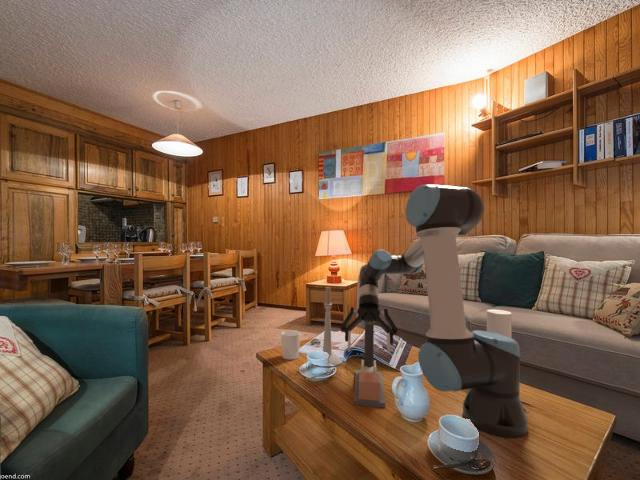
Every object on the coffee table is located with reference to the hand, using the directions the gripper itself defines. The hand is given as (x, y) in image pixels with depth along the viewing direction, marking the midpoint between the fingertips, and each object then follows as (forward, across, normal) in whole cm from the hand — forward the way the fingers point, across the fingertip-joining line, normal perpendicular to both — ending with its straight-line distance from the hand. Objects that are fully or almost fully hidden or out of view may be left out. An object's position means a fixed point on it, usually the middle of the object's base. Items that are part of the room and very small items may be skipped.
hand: (368, 351), depth 103 cm
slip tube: (+6, 0, -6) cm, 8 cm away
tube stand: (+10, 0, -4) cm, 11 cm away
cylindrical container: (+4, -43, -11) cm, 45 cm away
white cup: (-5, +32, -20) cm, 38 cm away
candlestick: (-4, +16, -19) cm, 25 cm away
